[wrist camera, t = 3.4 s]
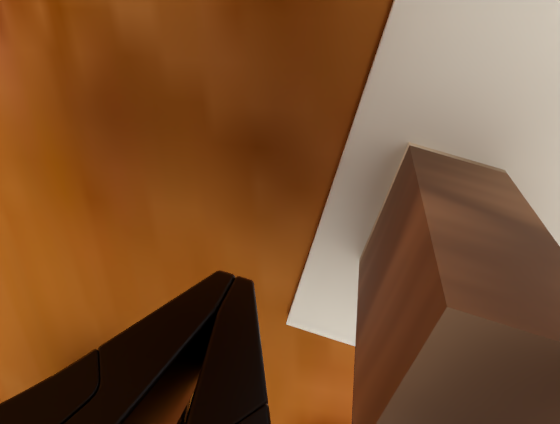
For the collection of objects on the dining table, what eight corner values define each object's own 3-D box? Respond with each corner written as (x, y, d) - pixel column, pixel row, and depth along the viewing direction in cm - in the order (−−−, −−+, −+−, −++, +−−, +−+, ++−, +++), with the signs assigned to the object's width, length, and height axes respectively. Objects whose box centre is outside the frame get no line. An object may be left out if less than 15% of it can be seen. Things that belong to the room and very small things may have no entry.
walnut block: (359, 259, 16) (349, 466, 9) (408, 142, 13) (447, 306, 7) (439, 284, 16) (490, 514, 9) (504, 169, 13) (648, 369, 6)
